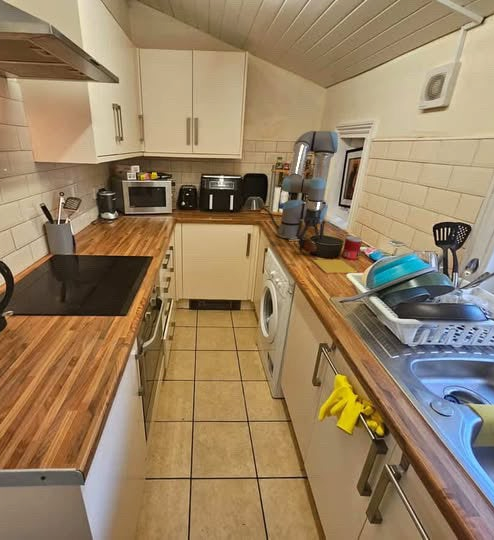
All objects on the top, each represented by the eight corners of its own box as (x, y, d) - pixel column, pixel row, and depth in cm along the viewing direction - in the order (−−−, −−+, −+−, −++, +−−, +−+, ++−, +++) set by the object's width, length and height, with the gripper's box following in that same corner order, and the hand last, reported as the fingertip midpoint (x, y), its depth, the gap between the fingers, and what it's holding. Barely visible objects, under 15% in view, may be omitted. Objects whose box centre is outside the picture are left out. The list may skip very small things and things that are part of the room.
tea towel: (312, 260, 158) (312, 259, 157) (341, 260, 159) (341, 259, 159) (325, 272, 143) (325, 272, 143) (357, 272, 144) (357, 271, 144)
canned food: (359, 260, 159) (363, 240, 155) (343, 259, 161) (347, 239, 156) (356, 255, 166) (360, 236, 162) (340, 254, 168) (344, 235, 163)
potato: (310, 255, 160) (312, 243, 157) (295, 248, 169) (297, 237, 166) (318, 253, 162) (320, 241, 160) (303, 246, 172) (305, 236, 169)
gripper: (296, 209, 153) (290, 252, 163) (335, 211, 152) (327, 253, 162) (293, 206, 160) (288, 247, 169) (330, 207, 159) (323, 248, 169)
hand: (307, 250), depth 166 cm, fingers closed on potato, 7 cm apart
